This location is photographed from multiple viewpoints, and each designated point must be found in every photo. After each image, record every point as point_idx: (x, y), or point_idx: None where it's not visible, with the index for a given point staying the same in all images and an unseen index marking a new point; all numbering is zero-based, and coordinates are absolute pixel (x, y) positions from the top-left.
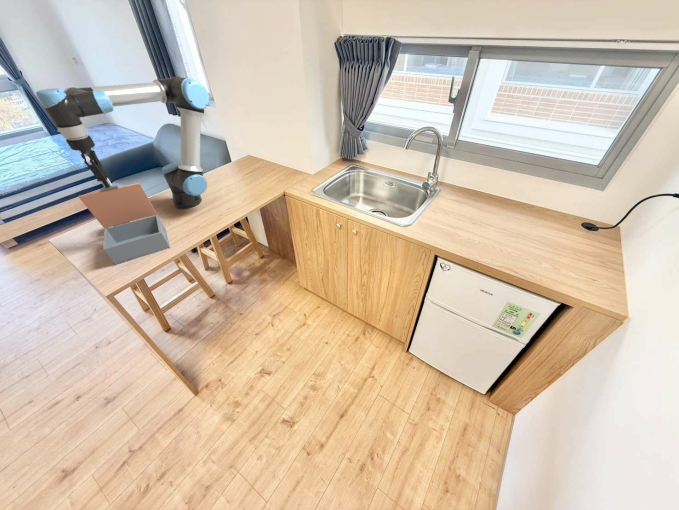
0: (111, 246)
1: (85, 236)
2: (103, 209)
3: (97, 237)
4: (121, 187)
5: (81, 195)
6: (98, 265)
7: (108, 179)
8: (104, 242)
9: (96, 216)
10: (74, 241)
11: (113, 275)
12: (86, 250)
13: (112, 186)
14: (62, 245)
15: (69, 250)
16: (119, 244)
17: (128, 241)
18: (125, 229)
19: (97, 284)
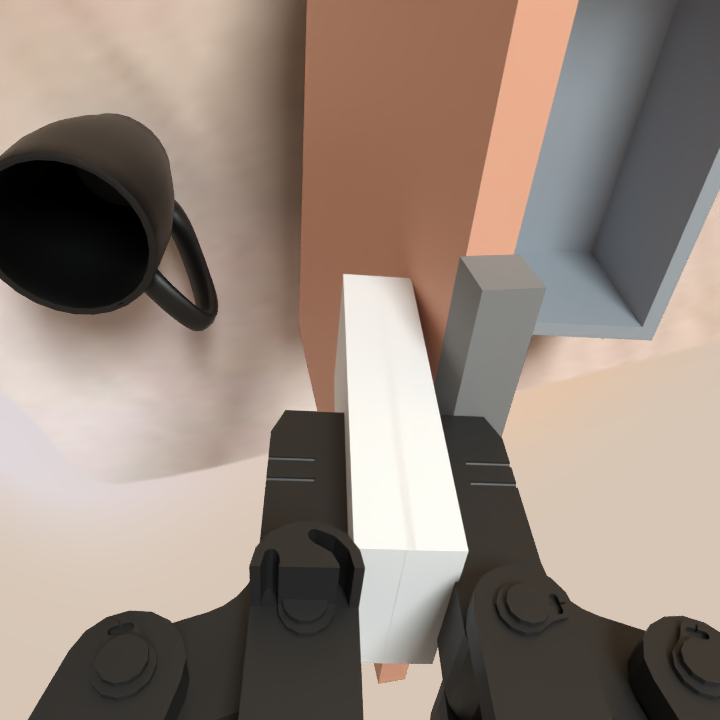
0: (661, 294)
1: (98, 389)
2: None
3: (151, 334)
4: (526, 182)
5: (388, 665)
6: None
7: (389, 513)
8: (551, 331)
9: None
10: (135, 432)
11: (697, 273)
12: (289, 384)
13: (478, 375)
14: (151, 473)
15: (231, 447)
16: (689, 242)
17: (713, 174)
18: None
19: (700, 342)
